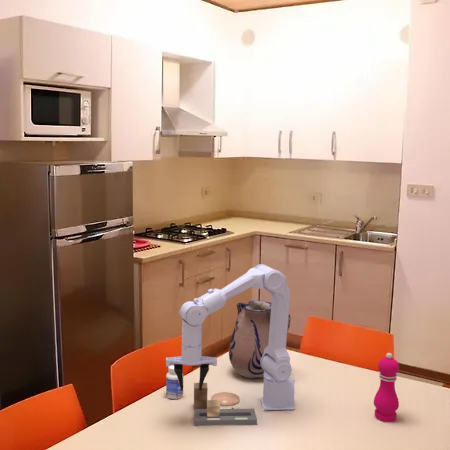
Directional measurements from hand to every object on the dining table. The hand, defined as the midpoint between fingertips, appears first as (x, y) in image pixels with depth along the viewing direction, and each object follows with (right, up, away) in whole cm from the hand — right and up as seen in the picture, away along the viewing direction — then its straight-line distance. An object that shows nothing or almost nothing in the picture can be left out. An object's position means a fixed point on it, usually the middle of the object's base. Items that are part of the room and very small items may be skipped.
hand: (191, 389), depth 165 cm
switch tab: (+6, -8, +2) cm, 10 cm away
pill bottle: (-6, -7, +17) cm, 19 cm away
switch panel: (+10, -9, +2) cm, 14 cm away
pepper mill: (+58, -10, +5) cm, 59 cm away
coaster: (+10, -8, +15) cm, 19 cm away
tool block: (+2, -8, +9) cm, 13 cm away
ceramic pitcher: (+22, -5, +36) cm, 42 cm away
